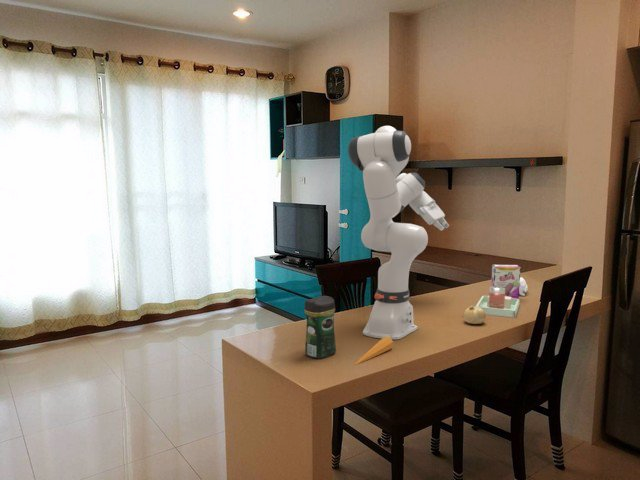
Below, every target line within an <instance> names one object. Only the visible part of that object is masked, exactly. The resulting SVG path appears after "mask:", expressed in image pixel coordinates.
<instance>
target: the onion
mask: <svg viewBox="0 0 640 480" xmlns="http://www.w3.org/2000/svg"><path fill="white" fill-rule="evenodd" d="M475 306H476V305H469V307H467V308H466V309H465V310H464V313H463V318H464V321H465V322H466V323H468V324H471V325H481V324H482V325H483V323H484V322H485V320H486V317H487V316H486V315H487V314H485V312H484V310H482V309H481V308H479V307H475Z"/></svg>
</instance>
